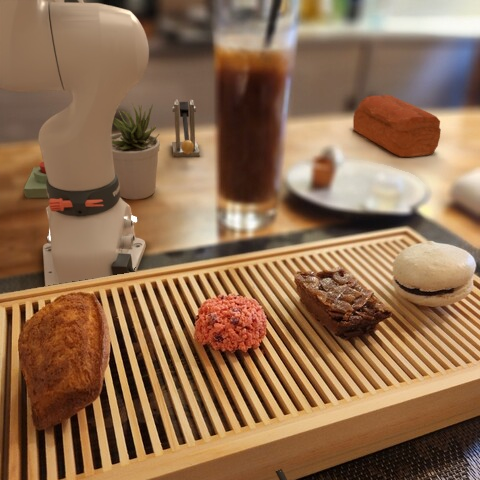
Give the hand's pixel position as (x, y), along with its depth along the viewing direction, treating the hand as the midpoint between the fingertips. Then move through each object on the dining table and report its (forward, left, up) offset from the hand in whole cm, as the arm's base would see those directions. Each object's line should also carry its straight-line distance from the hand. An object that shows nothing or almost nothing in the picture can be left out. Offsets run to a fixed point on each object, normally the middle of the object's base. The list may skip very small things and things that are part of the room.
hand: (70, 84), depth 101 cm
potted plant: (-12, -12, -20) cm, 26 cm away
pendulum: (+14, -25, -20) cm, 35 cm away
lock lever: (+9, -25, -14) cm, 30 cm away
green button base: (-7, +7, -20) cm, 22 cm away
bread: (+20, -88, -20) cm, 93 cm away
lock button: (-7, +7, -17) cm, 19 cm away
